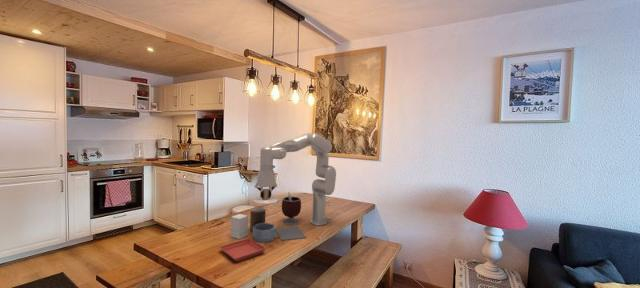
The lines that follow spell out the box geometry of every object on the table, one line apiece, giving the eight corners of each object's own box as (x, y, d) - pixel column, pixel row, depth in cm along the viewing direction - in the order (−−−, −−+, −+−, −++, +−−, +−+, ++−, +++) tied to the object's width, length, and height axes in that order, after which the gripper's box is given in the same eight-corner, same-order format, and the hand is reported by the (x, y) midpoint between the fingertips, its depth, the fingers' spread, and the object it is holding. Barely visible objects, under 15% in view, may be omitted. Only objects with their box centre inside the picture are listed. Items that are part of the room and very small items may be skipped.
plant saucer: (218, 252, 143) (219, 246, 143) (249, 243, 156) (249, 237, 156) (234, 265, 130) (235, 258, 130) (266, 254, 143) (266, 248, 143)
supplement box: (248, 235, 166) (248, 215, 165) (238, 239, 160) (239, 218, 159) (239, 233, 170) (240, 213, 169) (230, 236, 163) (230, 216, 163)
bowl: (272, 233, 172) (272, 222, 171) (276, 241, 159) (277, 229, 159) (251, 235, 167) (252, 224, 167) (254, 243, 155) (254, 231, 154)
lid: (275, 198, 172) (275, 186, 172) (280, 205, 158) (280, 191, 158) (251, 200, 167) (251, 187, 166) (254, 207, 153) (254, 193, 152)
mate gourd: (303, 224, 189) (304, 196, 188) (283, 226, 184) (284, 197, 183) (296, 217, 204) (297, 191, 203) (278, 219, 198) (279, 192, 197)
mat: (297, 226, 184) (297, 225, 184) (306, 238, 166) (306, 237, 166) (274, 229, 179) (274, 228, 179) (281, 241, 160) (281, 240, 160)
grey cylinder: (261, 233, 170) (262, 210, 169) (247, 232, 172) (247, 208, 171) (267, 228, 179) (268, 206, 179) (253, 227, 181) (254, 205, 181)
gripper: (278, 166, 168) (278, 195, 169) (251, 167, 162) (251, 197, 163) (281, 168, 161) (280, 198, 162) (253, 169, 155) (252, 200, 156)
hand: (265, 197), depth 162 cm, fingers closed on lid, 3 cm apart
